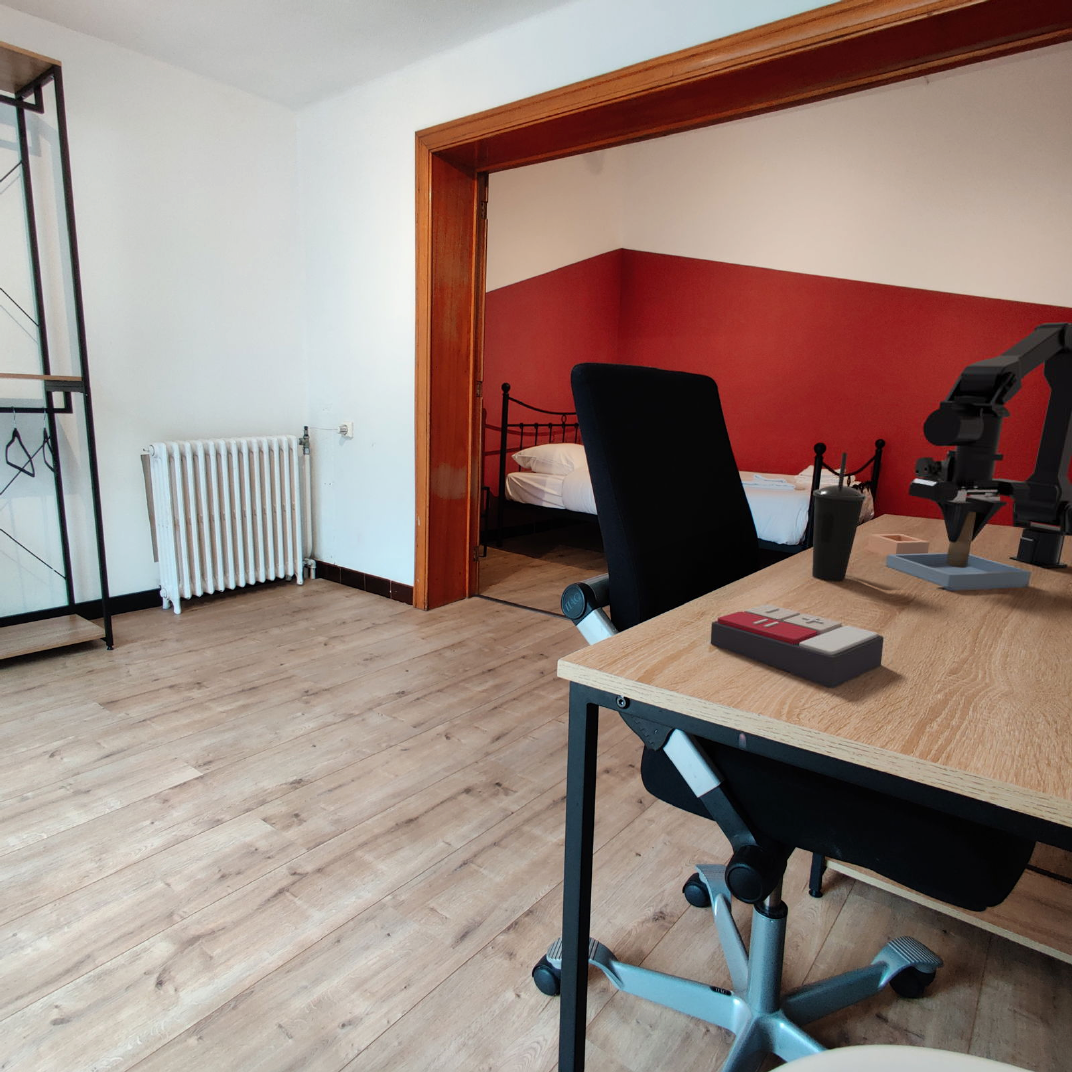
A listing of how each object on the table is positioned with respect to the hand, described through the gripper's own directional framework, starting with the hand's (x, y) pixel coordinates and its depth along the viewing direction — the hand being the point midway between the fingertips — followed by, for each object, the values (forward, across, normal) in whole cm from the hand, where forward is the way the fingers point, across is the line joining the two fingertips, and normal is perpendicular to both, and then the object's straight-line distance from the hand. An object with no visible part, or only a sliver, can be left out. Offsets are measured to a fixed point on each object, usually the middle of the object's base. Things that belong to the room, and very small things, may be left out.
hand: (960, 541), depth 115 cm
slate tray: (+6, 0, 0) cm, 6 cm away
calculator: (+7, +48, +25) cm, 55 cm away
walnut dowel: (+4, 0, 0) cm, 4 cm away
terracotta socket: (+6, -1, -14) cm, 15 cm away
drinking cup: (+6, +22, -3) cm, 23 cm away
